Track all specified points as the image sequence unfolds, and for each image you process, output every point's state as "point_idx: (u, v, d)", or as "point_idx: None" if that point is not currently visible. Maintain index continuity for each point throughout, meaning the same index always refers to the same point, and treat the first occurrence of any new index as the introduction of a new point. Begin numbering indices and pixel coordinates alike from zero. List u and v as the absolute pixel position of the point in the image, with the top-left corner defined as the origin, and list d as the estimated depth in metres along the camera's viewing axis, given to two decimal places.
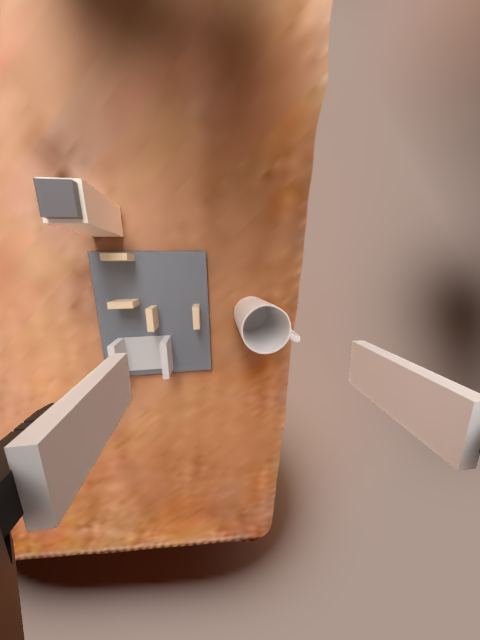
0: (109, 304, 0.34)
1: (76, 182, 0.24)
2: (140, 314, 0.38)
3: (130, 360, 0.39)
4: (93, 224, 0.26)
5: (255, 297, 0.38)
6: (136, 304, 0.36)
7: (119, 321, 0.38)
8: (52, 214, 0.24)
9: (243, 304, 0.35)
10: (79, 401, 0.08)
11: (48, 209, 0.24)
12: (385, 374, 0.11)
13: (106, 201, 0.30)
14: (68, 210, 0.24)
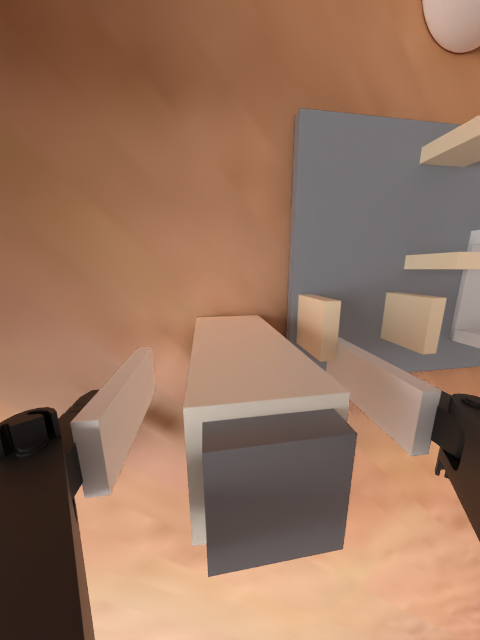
0: (427, 348, 0.14)
1: (202, 426, 0.06)
2: (416, 292, 0.18)
3: None
4: (322, 372, 0.08)
5: None
6: (416, 294, 0.16)
7: None
8: (338, 516, 0.06)
9: None
10: (122, 387, 0.09)
11: (321, 528, 0.06)
12: (354, 368, 0.12)
13: (206, 336, 0.12)
14: (329, 466, 0.05)
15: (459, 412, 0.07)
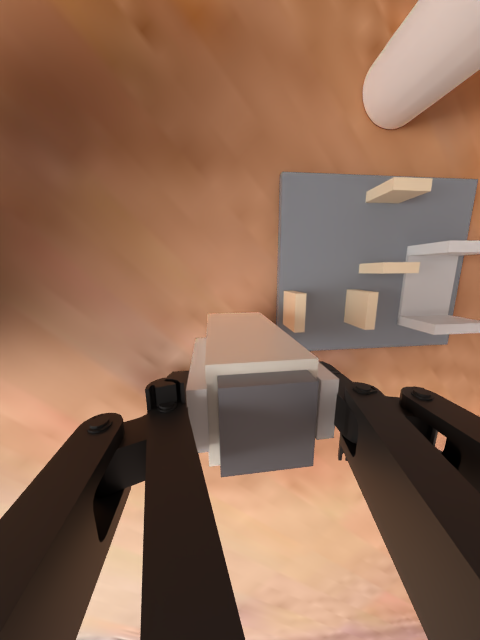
0: (368, 326, 0.22)
1: (217, 377, 0.09)
2: (369, 290, 0.25)
3: (433, 310, 0.26)
4: (302, 348, 0.10)
5: (382, 58, 0.19)
6: (363, 290, 0.23)
7: (374, 320, 0.26)
8: (308, 441, 0.09)
9: (415, 64, 0.17)
10: None
11: (296, 448, 0.09)
12: None
13: (217, 327, 0.14)
14: (300, 403, 0.08)
15: (352, 401, 0.08)
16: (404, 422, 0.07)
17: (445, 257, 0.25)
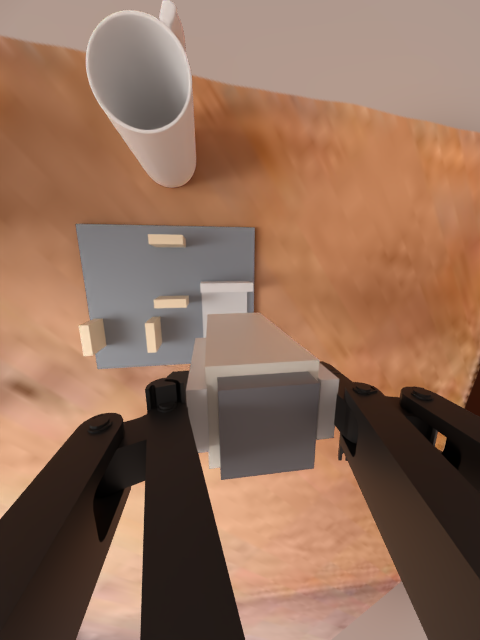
0: (150, 349, 0.27)
1: (217, 379, 0.08)
2: (173, 317, 0.30)
3: None
4: (303, 349, 0.10)
5: None
6: (154, 319, 0.28)
7: (182, 341, 0.31)
8: (309, 443, 0.09)
9: None
10: None
11: (297, 451, 0.09)
12: None
13: (217, 327, 0.14)
14: (301, 405, 0.08)
15: (352, 401, 0.08)
16: (404, 422, 0.07)
17: None
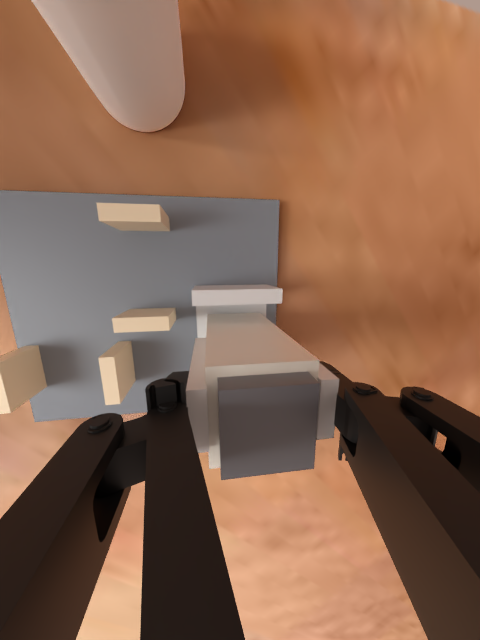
0: (109, 400, 0.16)
1: (217, 379, 0.08)
2: (151, 341, 0.19)
3: None
4: (303, 349, 0.10)
5: None
6: (118, 348, 0.17)
7: None
8: (308, 443, 0.09)
9: (55, 35, 0.11)
10: None
11: (297, 451, 0.09)
12: None
13: (217, 327, 0.14)
14: (301, 405, 0.08)
15: (352, 401, 0.08)
16: (404, 422, 0.07)
17: None
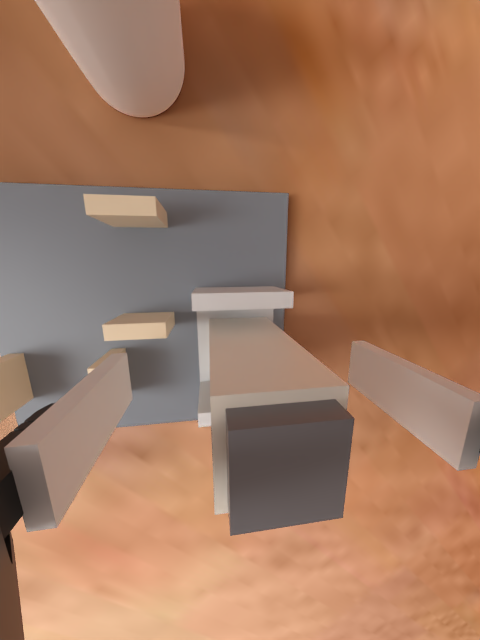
0: None
1: (225, 411, 0.07)
2: (148, 348, 0.18)
3: None
4: (325, 368, 0.09)
5: None
6: None
7: (165, 387, 0.18)
8: (338, 489, 0.07)
9: None
10: (79, 401, 0.08)
11: (324, 498, 0.07)
12: (385, 374, 0.11)
13: (221, 337, 0.13)
14: (331, 445, 0.07)
15: None
16: None
17: None
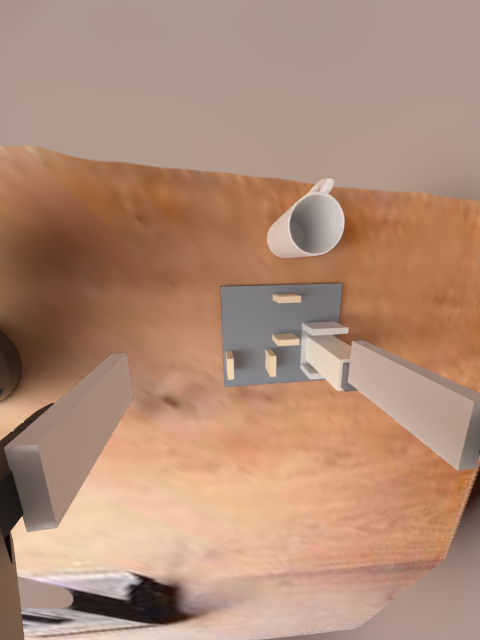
0: (271, 374, 0.38)
1: (343, 363, 0.30)
2: (280, 348, 0.41)
3: None
4: None
5: (270, 233, 0.34)
6: (271, 352, 0.39)
7: (285, 366, 0.42)
8: None
9: (279, 249, 0.32)
10: (79, 401, 0.08)
11: None
12: (385, 374, 0.11)
13: (323, 344, 0.36)
14: None
15: None
16: None
17: None
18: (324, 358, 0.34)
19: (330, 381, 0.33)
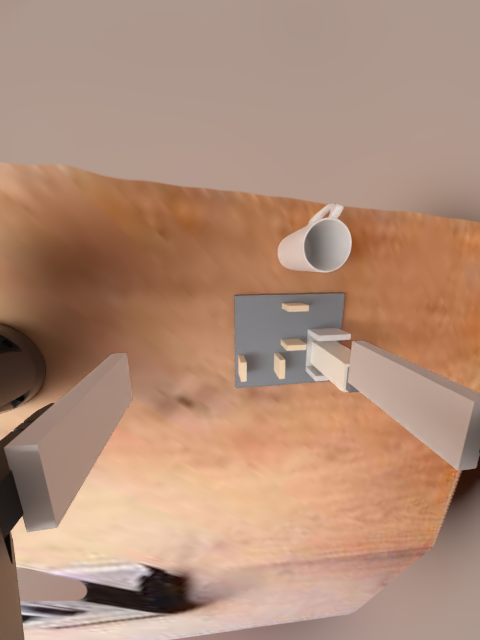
0: (281, 377, 0.41)
1: (348, 367, 0.33)
2: (287, 352, 0.44)
3: None
4: None
5: (281, 248, 0.38)
6: (280, 356, 0.42)
7: (291, 369, 0.45)
8: None
9: (290, 263, 0.36)
10: (79, 401, 0.08)
11: None
12: (385, 374, 0.11)
13: (328, 349, 0.39)
14: None
15: None
16: None
17: None
18: (330, 362, 0.37)
19: (335, 383, 0.36)
